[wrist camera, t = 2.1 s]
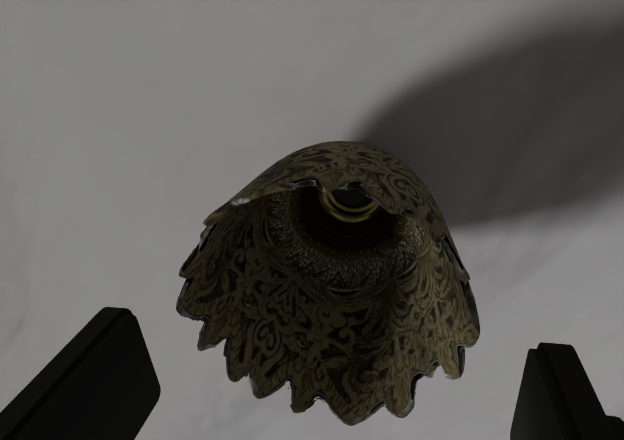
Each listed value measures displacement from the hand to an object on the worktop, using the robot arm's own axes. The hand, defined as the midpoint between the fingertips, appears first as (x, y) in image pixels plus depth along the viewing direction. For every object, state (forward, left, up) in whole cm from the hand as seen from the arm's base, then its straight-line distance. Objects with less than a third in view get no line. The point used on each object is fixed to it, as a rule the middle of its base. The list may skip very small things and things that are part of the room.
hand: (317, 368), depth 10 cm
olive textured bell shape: (-1, 0, -9) cm, 9 cm away
